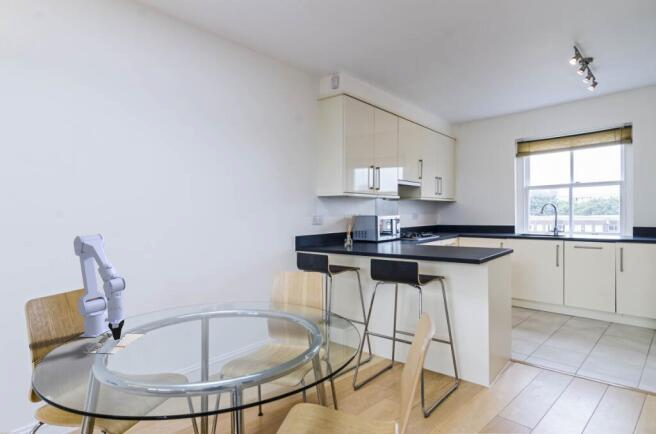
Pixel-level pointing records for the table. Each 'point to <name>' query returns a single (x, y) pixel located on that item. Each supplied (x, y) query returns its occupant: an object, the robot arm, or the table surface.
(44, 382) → the table surface
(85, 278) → the robot arm
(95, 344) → the soldier figure
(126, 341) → the mat
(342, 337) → the table surface
